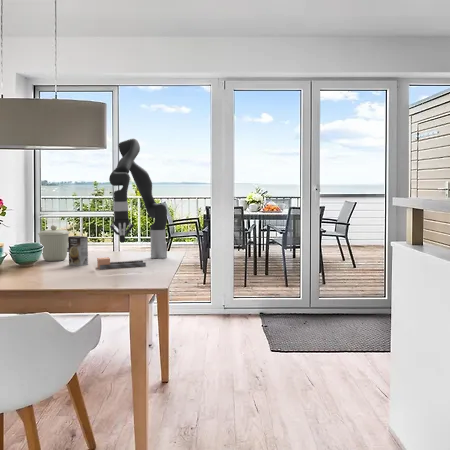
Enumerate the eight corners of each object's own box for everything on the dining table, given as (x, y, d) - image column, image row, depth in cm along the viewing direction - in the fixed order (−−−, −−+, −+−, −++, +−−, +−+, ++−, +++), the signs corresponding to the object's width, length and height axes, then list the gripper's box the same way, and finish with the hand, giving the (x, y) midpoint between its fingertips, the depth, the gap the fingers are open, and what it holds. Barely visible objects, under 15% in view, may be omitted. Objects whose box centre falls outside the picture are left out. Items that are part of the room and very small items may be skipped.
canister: (32, 262, 298) (31, 226, 296) (48, 257, 315) (47, 223, 314) (61, 262, 294) (60, 226, 293) (75, 258, 312) (74, 224, 310)
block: (108, 266, 273) (108, 257, 272) (110, 268, 267) (110, 258, 267) (97, 267, 271) (97, 257, 270) (98, 268, 265) (98, 259, 265)
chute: (142, 265, 281) (142, 260, 281) (146, 268, 272) (145, 262, 271) (98, 268, 273) (98, 262, 272) (100, 271, 263) (100, 265, 263)
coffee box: (68, 265, 285) (67, 236, 284) (76, 263, 291) (75, 235, 289) (80, 266, 281) (79, 237, 279) (88, 264, 286) (87, 236, 285)
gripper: (132, 209, 275) (133, 240, 277) (107, 210, 271) (108, 242, 272) (134, 209, 268) (135, 242, 270) (109, 211, 264) (110, 244, 265)
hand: (122, 242), depth 271 cm, fingers closed
